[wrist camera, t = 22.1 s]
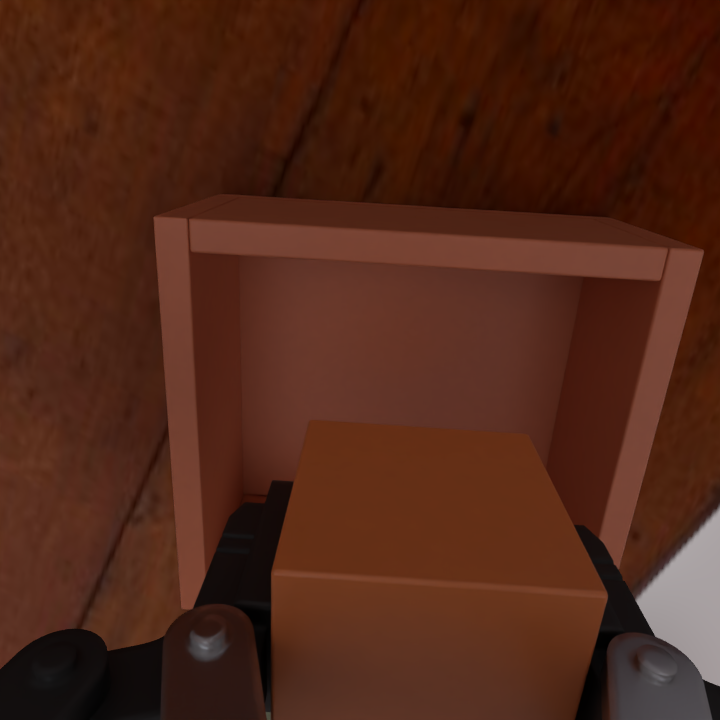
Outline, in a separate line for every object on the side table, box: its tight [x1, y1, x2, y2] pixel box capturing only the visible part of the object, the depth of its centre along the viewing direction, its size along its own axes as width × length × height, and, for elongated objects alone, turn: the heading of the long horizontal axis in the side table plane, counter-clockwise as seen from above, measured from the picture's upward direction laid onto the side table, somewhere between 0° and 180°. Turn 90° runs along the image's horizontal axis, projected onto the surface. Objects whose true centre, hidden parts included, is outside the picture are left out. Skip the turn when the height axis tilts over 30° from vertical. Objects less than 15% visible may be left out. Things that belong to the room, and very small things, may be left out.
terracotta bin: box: [154, 194, 704, 610], centre depth 18 cm, size 13×12×6 cm
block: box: [271, 420, 608, 720], centre depth 11 cm, size 4×4×4 cm
